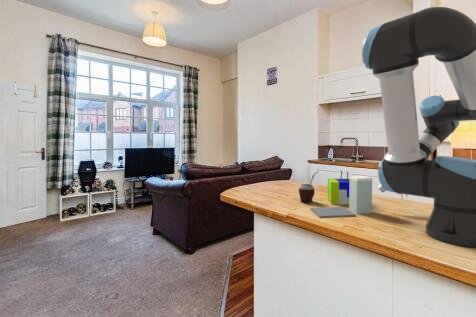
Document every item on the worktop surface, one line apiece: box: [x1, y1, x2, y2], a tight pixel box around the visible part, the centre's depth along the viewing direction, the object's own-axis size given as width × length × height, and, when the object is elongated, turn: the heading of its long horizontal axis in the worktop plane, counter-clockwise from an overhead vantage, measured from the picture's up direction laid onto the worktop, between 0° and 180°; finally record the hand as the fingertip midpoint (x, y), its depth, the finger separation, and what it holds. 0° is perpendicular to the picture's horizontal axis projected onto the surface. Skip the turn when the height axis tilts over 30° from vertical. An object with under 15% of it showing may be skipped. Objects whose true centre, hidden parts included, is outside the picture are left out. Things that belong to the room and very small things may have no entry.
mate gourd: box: [298, 170, 320, 204], centre depth 118 cm, size 8×8×15 cm
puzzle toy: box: [327, 178, 349, 206], centre depth 117 cm, size 10×10×10 cm
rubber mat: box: [309, 206, 357, 219], centre depth 101 cm, size 14×11×1 cm
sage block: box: [348, 175, 373, 215], centre depth 101 cm, size 6×6×14 cm
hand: (380, 189), depth 101 cm, fingers closed
